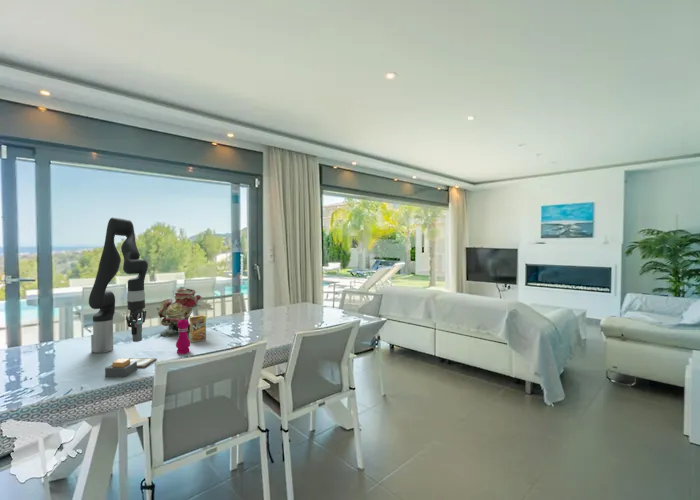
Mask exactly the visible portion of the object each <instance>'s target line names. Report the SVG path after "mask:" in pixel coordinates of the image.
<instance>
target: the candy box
mask: <svg viewBox="0 0 700 500" xmlns="http://www.w3.org/2000/svg"><path fill="white" fill-rule="evenodd" d="M189 324H190V333H189V340H190V343H196V342H202V341H207V315H205V314H201V315H200V314H198V315H193V316H191V315H190V317H189Z"/></svg>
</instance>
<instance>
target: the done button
mask: <svg viewBox="0 0 700 500" xmlns="http://www.w3.org/2000/svg"><path fill="white" fill-rule="evenodd" d="M128 364H130V359H129V358H118V359H116V360H114V361H112V364H111V365H112V367H125V366H126V365H128Z"/></svg>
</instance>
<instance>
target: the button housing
mask: <svg viewBox="0 0 700 500" xmlns="http://www.w3.org/2000/svg"><path fill="white" fill-rule="evenodd" d="M137 370H138V368H137V361H130V364H128V365H126V366H125V367H112V364H111V365H108V366H107V367H105V368H104V377H105V378H126V377H128V376H129V375H131V374H132V373H134V372H136V371H137Z"/></svg>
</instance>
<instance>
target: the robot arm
mask: <svg viewBox="0 0 700 500" xmlns="http://www.w3.org/2000/svg"><path fill="white" fill-rule="evenodd" d="M135 235H136V234H135V227H134V224H133V222H132V221H131V220H130V219H125V218H120V217H119V218H118V217H110V218H109V220H108V223H107V226H106V233H105V240H104V243H103V244H104V245H103V249H102V253H101V257H100V259H99V264H98V269H97V272H96V276H95V279H94V283H93V286H92V289H91V291H90V294H89V297H88V304H89V305H88V306H89V307H90V308H91V309H93V310H98V312H96V313H95V314H93V316H92V334H91V335H90V338H91V339H90V340H91V341H90V343H91V347H90V349H91V350H90V351H91V353H94V354H103V353H108V352H111V351H113V350H114V315H115V312H116V311H115V310H116V296H115V294H114V293H113V291H111V290H107V287H108V285H109V284H110V282H111V281H112V280H113V278H114V277H115V276H116V275H117V273H118V272H119V269H120V265H121V261H122V258H121V255H120V253H119V251H118V249H117V247H116V244H115V237H116V236H119V237H126V239H125V240H124V241H123V243H122V245H121V247H120V248H121V253H122V256H123V265H122V270H123V272H124V273H125V274H127V275H136V274H137V276H136V277H133V278H130V279H128V280H127V297H126V298H127V299H126V301H127V306H126V307H127V310H128V311H129V315H127V316H125V320H126V324H127V327H128V328H131V329H130V330H131V336H132V335H136V334H137V323H138V320H142V325H143V324H144V323H145V322H146V317H147V310H144V309H145V308H146V292H145V280H146V275H147V272H148V268H149V264H148V261H147V260H145V259H140V257H141V256H140V253H139V250H138V246H137V242H136V236H135ZM134 320H136V321H134ZM134 323H135V325H134Z"/></svg>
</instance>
